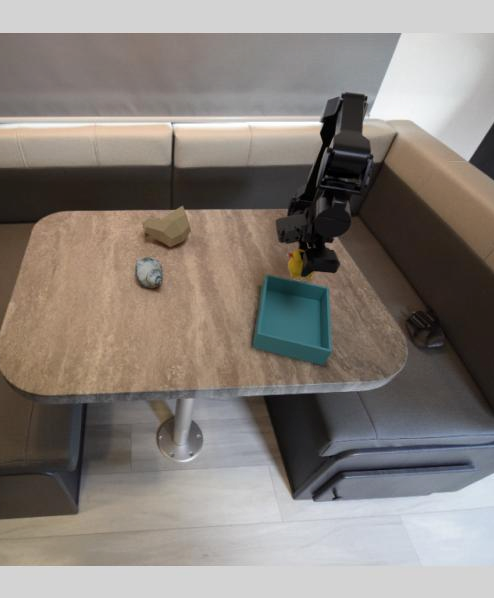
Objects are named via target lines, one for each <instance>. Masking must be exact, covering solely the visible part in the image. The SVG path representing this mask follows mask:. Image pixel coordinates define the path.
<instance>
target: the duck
mask: <svg viewBox="0 0 494 598" xmlns="http://www.w3.org/2000/svg"><path fill="white" fill-rule="evenodd" d="M299 252H305V251H304V250H302V249H298V248H297V249H295V250H294V251H293V253H290V252H289V253H288V254H287V257H288V258H290V259H289V261H288V262H287V269H288V271H289V274H290V277H291V278H298V279H310V280H311V279H312V277H313V276H312V275H314V274H315V273H316V271H313V272H312V273H311V274H309V275H308V276H306V277H301V270H302V265H303V261H302V260H301V256H300V253H299Z"/></svg>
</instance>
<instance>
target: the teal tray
mask: <svg viewBox="0 0 494 598" xmlns="http://www.w3.org/2000/svg"><path fill="white" fill-rule="evenodd" d="M330 299H331V297H330V287H329V286H324V285H320V284H316V283H315V284H314V283H310V282H305V281H301V280H295V279H291V278H285V277H281V276H276V275H272V274H265V276H264V279H263V282H262V285H261V288H260V295H259V302H258V308H257V314H256V321H255V328H254V335H253V341H252V347H251V348H253V349H256V350H259V351H264V352H268V353H272V354H275V355H280V356H284V357H288V358H292V359H295V360H300V361H304V362H308V363H312V364H316V365H320V366H324V365H325V364H326V363H327V361H328V359H329V358H330V356H331V354H332V352H333V344H332V343H333V342H332V324H331V322H332V321H331V320H332V319H331V301H330Z"/></svg>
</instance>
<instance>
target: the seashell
mask: <svg viewBox="0 0 494 598" xmlns="http://www.w3.org/2000/svg"><path fill="white" fill-rule="evenodd" d="M135 278H136V280H137V282H138V283H139V284H140V285H141V286H142V287H143V288H147V289H154V288H156V287H158V286H161V285H162V284H163V266H162V265H161V263H160V262H159V260H158V259H156V258H155V257H152V256H145V257H143V258H137V259H136V261H135Z"/></svg>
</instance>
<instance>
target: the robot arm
mask: <svg viewBox="0 0 494 598" xmlns="http://www.w3.org/2000/svg"><path fill="white" fill-rule="evenodd" d="M368 107H369V104H368V95H365V93H358V92H349V91H345V92H341V93H340V94H339V95H338V96H336V97H333V98H329V99H328V100H326V101H325V104H324V106H323V108H322V111H321V115H320V118H319V123H320V130H319V136H320V139H321V142H320V144H319V148H318V150H317V153H316V155H315V158H314V160H313V164H312V166H311V169H310V172H309V174H308V177H307V179H306V182H305V184H303V185H302V186H301V187H299V188H298V189H297V190H296V193H295V196H292V197H291V199H290V201H289V203H288V208H287V213H286V216H282V217H279V218H276V219H275V228H276V229H275V230H276V236H277V240H278V242H279V243H281V244H287V245H290V244H294V243H298V246H297V247H298V248H297V249H302V250H304V251H305V252H299V253H300V256H301V260H302V261H303V265H302V270H301V277H306V276H308V275H309V274H311V273H312V272H313V271H316V272H317V273H330V274H336V273H337V272H338V271H339V268H340V266H341V265H342V264H341V262H340V259H339V257H338V254H337V252H336V251H335V250H334V249H330V248H329V247H327V246H326V244H333V243H334V241H335V238H338V237H340V236H342V235H344V234H346V232H348V230H349V229H350V228H351V225H352V215H351V204H350V201H351V198H352V195H354V196H360V197H362V196H363V193H364V190H365V189H367V188H368V186H369V184H370V180H371V176H372V173H373V172H372V171H373V167H374V164H375V163H374V162H375V160H374V154H373V153H372V144H371V141H370V139H368V138H367V137H366V136H364V135H363V134H364V133H363V131H364V121H365V117H366V115H367V112H368ZM348 180H352V181H348ZM358 180H359V181H358ZM353 181H358V183H357V182H353ZM316 272H315V273H316Z"/></svg>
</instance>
